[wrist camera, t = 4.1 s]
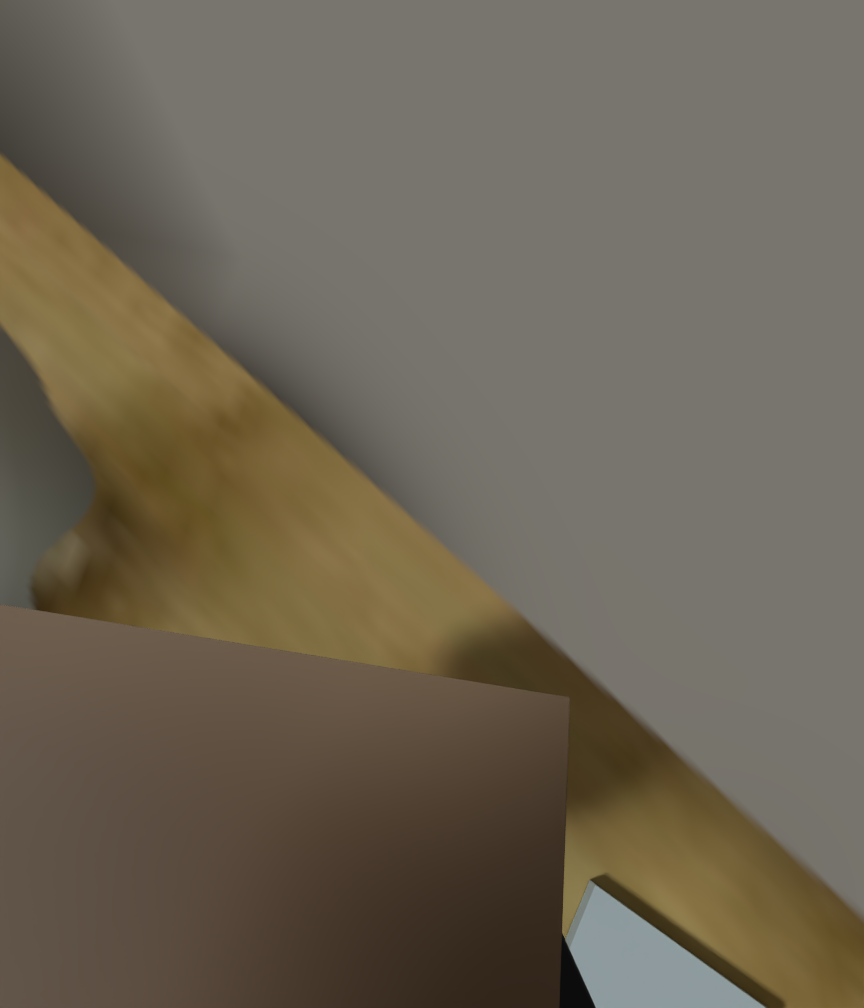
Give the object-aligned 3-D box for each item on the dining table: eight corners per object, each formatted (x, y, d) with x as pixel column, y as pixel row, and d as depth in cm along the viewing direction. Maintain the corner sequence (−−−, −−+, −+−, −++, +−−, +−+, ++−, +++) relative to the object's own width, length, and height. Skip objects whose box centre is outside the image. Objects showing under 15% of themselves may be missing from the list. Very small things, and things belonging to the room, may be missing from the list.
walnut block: (425, 962, 13) (505, 2641, 2) (199, 921, 13) (-1140, 2185, 2) (455, 712, 15) (569, 697, 4) (265, 680, 15) (-127, 583, 4)
